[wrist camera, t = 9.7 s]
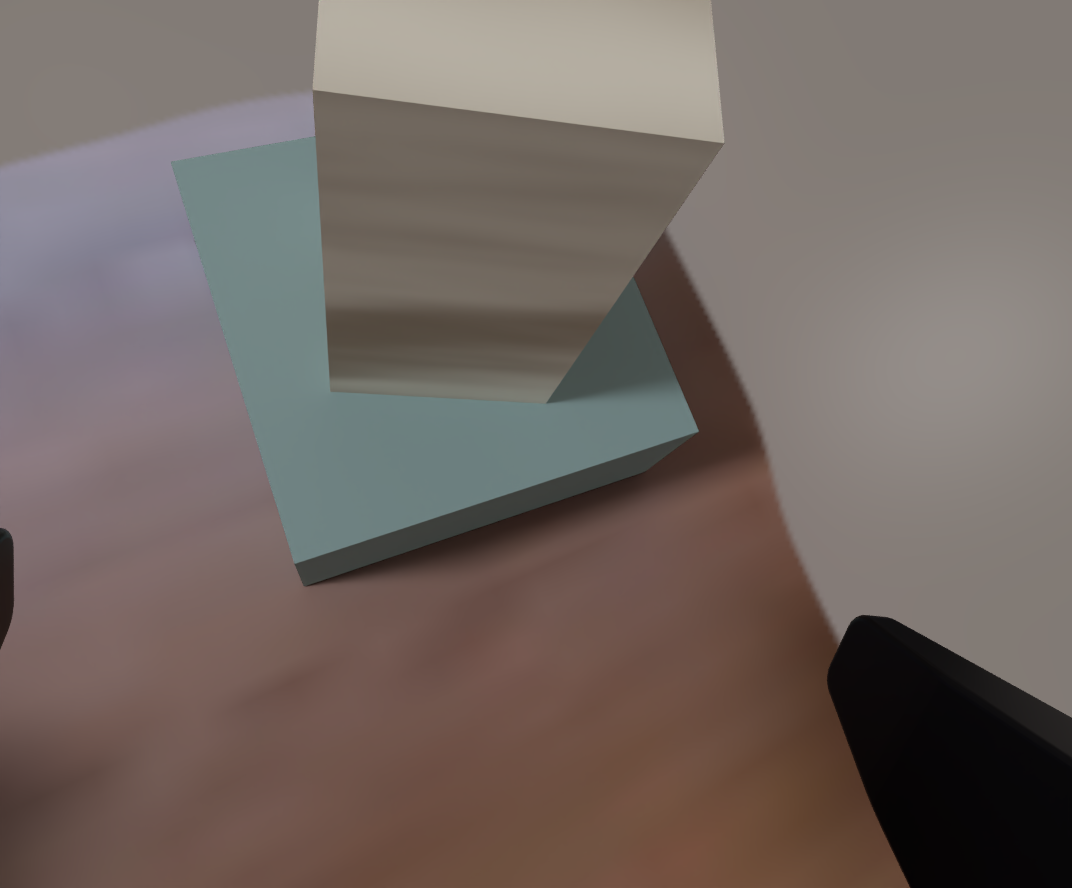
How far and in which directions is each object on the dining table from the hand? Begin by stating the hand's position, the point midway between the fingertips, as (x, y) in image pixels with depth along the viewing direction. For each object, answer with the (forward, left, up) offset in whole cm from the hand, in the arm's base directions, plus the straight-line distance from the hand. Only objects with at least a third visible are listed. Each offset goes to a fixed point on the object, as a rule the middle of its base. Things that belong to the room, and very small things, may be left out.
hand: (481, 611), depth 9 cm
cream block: (+8, -3, -9) cm, 12 cm away
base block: (+8, -3, -13) cm, 16 cm away
